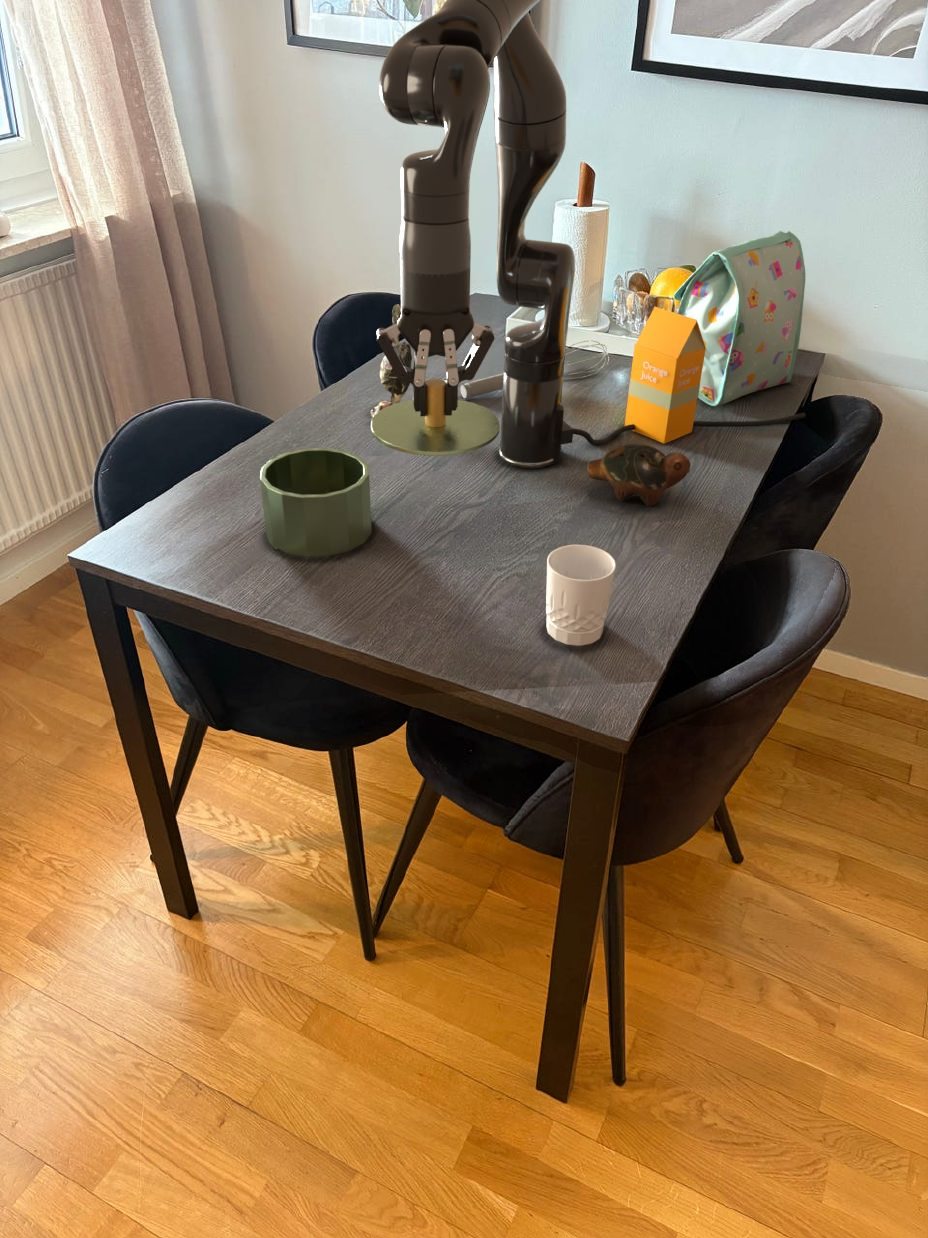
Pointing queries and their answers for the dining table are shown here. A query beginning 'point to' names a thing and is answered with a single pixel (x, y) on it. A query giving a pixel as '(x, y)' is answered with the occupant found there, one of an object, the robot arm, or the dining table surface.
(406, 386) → the plant with pod
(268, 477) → the tin
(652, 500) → the decorative turtle
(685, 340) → the orange juice
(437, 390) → the lid
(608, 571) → the white cup
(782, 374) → the lunch bag
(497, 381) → the kitchen whisk
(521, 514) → the dining table surface
